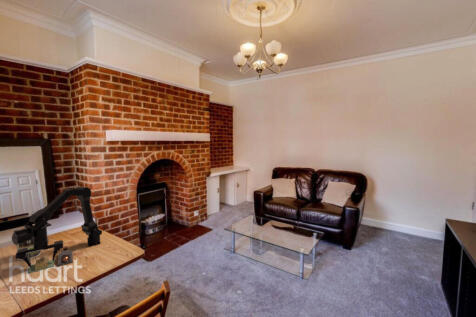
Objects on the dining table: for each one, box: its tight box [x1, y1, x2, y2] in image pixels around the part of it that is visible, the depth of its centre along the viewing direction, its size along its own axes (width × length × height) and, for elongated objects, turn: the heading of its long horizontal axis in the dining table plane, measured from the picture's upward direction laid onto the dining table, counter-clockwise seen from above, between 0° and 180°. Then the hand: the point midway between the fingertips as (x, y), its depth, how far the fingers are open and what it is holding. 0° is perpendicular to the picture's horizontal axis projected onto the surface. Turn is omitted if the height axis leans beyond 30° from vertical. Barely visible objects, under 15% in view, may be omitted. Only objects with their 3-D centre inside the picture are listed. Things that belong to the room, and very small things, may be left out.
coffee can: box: [15, 238, 42, 262], centre depth 128 cm, size 10×10×14 cm
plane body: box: [57, 245, 74, 267], centre depth 125 cm, size 15×6×5 cm, turn 38°
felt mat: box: [28, 259, 55, 274], centre depth 118 cm, size 10×8×1 cm
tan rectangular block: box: [35, 256, 50, 270], centre depth 117 cm, size 7×5×3 cm
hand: (42, 263), depth 118 cm, fingers open, 9 cm apart
